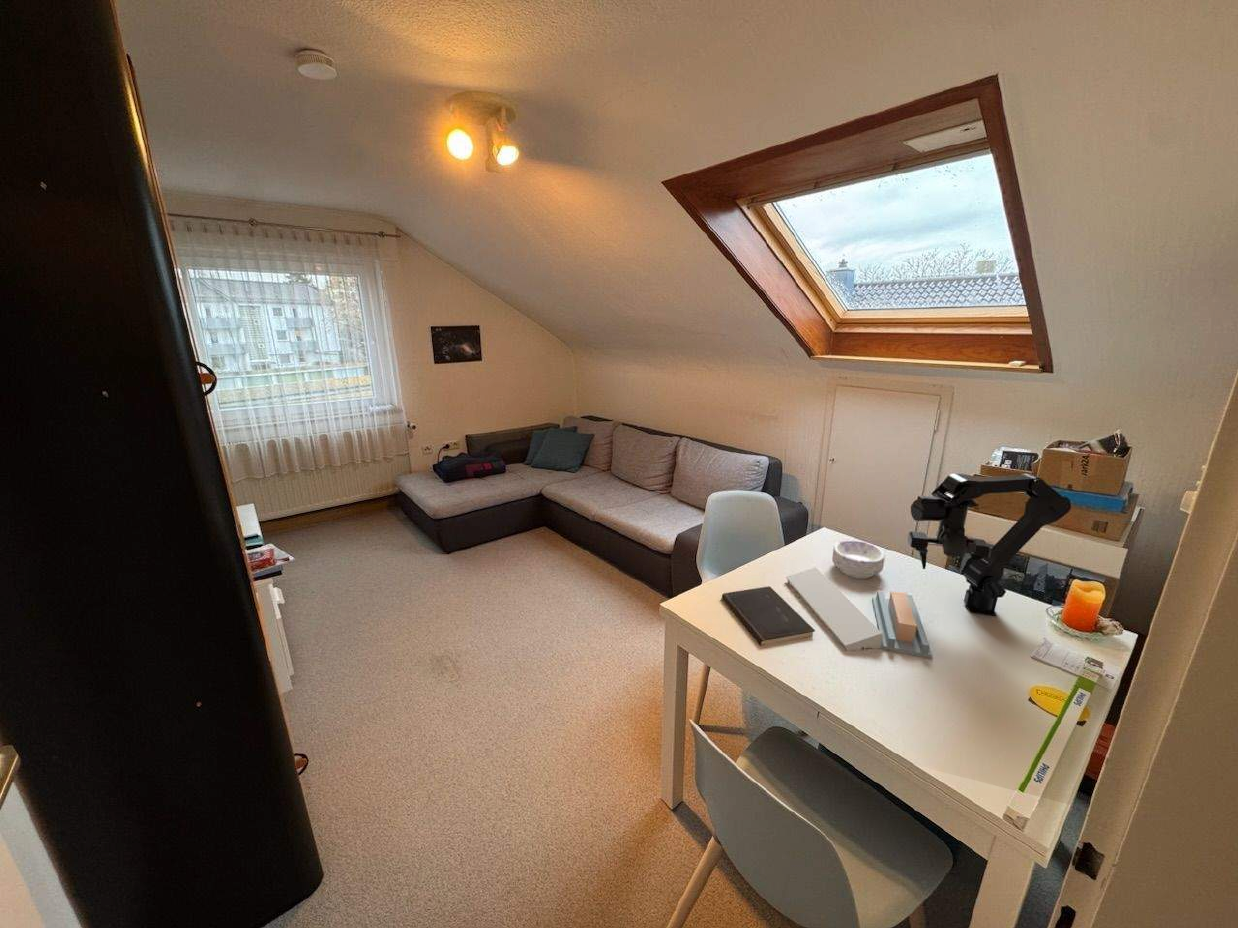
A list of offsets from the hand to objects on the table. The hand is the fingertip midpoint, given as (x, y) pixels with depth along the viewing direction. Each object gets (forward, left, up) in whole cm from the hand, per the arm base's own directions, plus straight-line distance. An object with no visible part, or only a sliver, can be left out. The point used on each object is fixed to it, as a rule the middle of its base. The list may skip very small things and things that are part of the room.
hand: (942, 571), depth 141 cm
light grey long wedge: (+29, +11, -13) cm, 33 cm away
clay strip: (+11, +13, -11) cm, 20 cm away
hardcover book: (+46, +20, -13) cm, 52 cm away
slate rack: (+11, +13, -12) cm, 21 cm away
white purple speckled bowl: (+20, -16, -12) cm, 28 cm away
